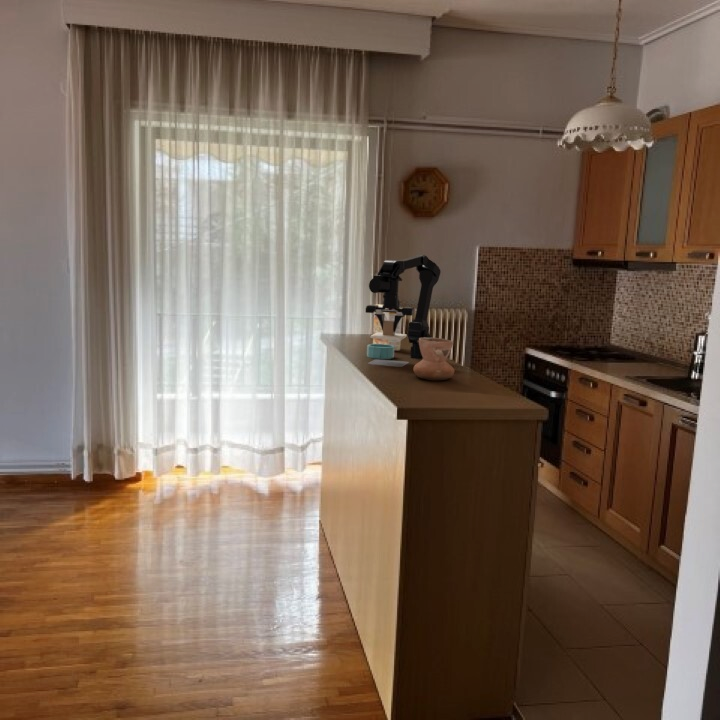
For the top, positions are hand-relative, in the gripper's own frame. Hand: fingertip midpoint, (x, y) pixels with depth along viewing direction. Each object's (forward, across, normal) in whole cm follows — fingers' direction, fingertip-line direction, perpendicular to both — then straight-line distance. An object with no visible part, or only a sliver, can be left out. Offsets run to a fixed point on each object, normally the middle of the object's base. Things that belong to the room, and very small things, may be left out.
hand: (388, 331), depth 281 cm
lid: (+2, 0, 0) cm, 2 cm away
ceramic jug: (+12, -23, +26) cm, 37 cm away
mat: (+12, -1, +3) cm, 13 cm away
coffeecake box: (+13, +10, -41) cm, 44 cm away
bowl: (+12, +6, -11) cm, 18 cm away
